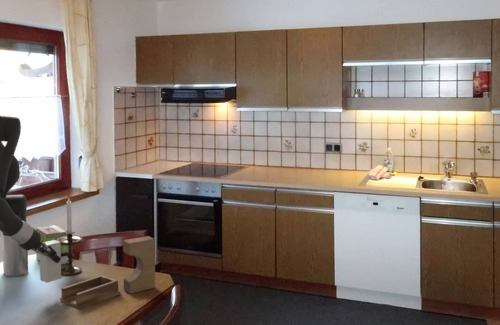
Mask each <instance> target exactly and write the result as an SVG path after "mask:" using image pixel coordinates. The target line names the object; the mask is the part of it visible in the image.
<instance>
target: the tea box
mask: <svg viewBox="0 0 500 325" xmlns="http://www.w3.org/2000/svg"><path fill="white" fill-rule="evenodd" d="M35 230H36V231H38V232H39V233H40V234H41V240H40V241H43V242H47V241H51V240H56V239H57V238H60V237H64V236H67V234H65V233H66V232H67V230H66V229H65V228H63V227H61V226H59V225H58V224H55V225H54V224H53V225H46V226H40V227H39V226H38V227H35ZM60 246H61V265H65V264H69V262H68V261H67V260H68V257H67V254H68V245H60ZM35 253H36V252H35ZM35 255H36V256H35V257H36V259H37V260H38V261H40V254H38V253H36V254H35Z"/></svg>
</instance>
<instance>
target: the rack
mask: <svg viewBox="0 0 500 325" xmlns="http://www.w3.org/2000/svg"><path fill="white" fill-rule="evenodd" d="M119 295H121V290H119V280H118V279H114V278H111V277H108V276H106V275H103V274H101V275H97V276H95V277H92V278H88V279H85V280H82V281H79V282H76V283H72V284H70V285H67V286H64V287H61V297H59V301H60V302H62V303H65V304H67V305H70V306H72V307H75V308H77V309H79V310H81V309H84V308H87V307H89V306H92V305H94V304H98V303H99V302H103V301H105V300H108V299H110V298H113V297H116V296H119Z"/></svg>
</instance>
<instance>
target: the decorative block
mask: <svg viewBox="0 0 500 325" xmlns="http://www.w3.org/2000/svg"><path fill="white" fill-rule="evenodd" d="M122 244H123V247H122V248H123V253H125V254H126V255H128V256H129V257H130V256H131V257H132V256H133V257H134V258H135V259H136V267H135V269H134V270H133V272H132V273H131V274H130V275H128V276H126V277H124V278H123V290H124V291H125V292H127V293H129V295H132V294H136V293H139V292H143V291H144V292H145V291H148V290H152V289H155V288H156V240H155V238H154V237H151V236H149V235H146V236H141V237H135V238H128V239H123V242H122Z"/></svg>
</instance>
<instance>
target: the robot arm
mask: <svg viewBox="0 0 500 325" xmlns="http://www.w3.org/2000/svg"><path fill="white" fill-rule="evenodd" d="M21 124H22V123H21V120H20V118H19V117H17V116H11V115H0V232H1V233H2V246H3V249H2V250H3V251H2V265H3V273H4V276H6V277H20V276H23V275H26V274H28V273H29V254H28V252H29V251H33V252H35V253H38V254H40V253H41V254H42V255H43V256H48V257H49V258H50V259H52V260H53V261H54V262H56V263H58V262H59V261H60V260H61V258H60V257H59V256H57V255H56V254H57V252H56V251H55V250H54V249H53V248H52V247H51V246H47V245H46V243H44V242H43V241H40V240H41V234H40V233H39V232H38V231H36V228H34V227H33V226H32V225H30V224H29V223H28V222H27V209H28V208H27V207H28V206H27V205H28V204H27V203H28V202H27V198H26V196H25V195H24V194H8V193H9V192H10V190H12V188H13V187H14V186H15V185H16V184H17V183H18V181H19V179H20V176H21V172H20V163H19V161H18V159H17V157H16V156H15V152H16V149H17V146H18V143H19V140H20V136H21V131H22V126H21ZM4 142H6V144H5V145H4V144H3V143H4ZM44 252H45V253H44Z"/></svg>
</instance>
